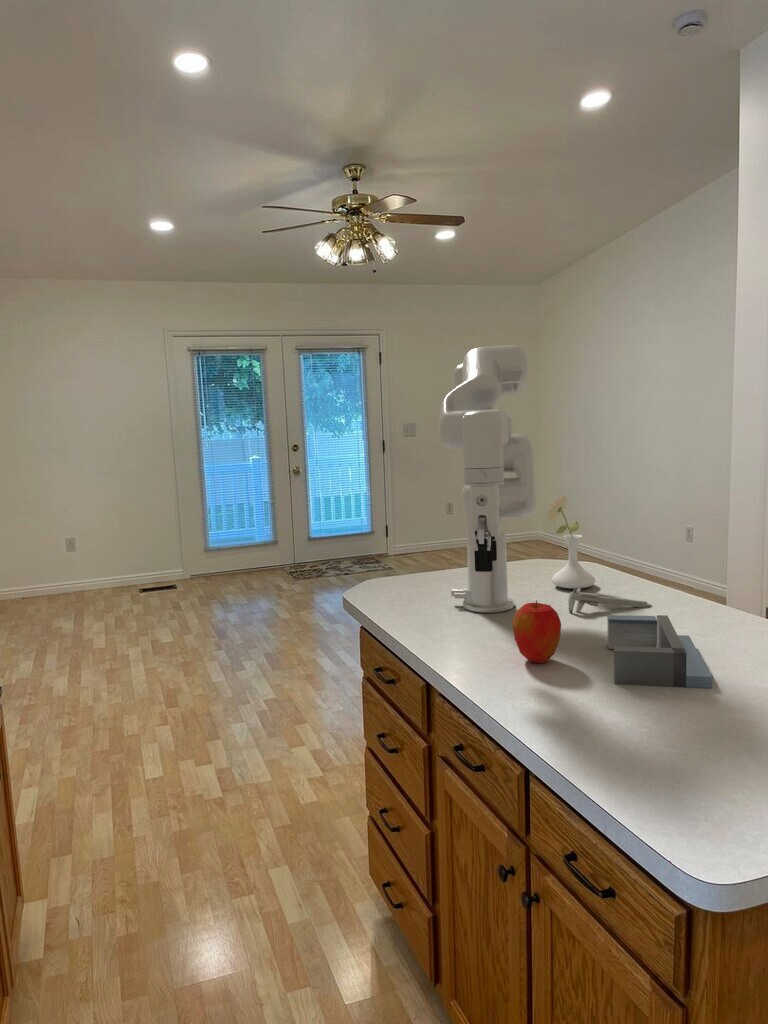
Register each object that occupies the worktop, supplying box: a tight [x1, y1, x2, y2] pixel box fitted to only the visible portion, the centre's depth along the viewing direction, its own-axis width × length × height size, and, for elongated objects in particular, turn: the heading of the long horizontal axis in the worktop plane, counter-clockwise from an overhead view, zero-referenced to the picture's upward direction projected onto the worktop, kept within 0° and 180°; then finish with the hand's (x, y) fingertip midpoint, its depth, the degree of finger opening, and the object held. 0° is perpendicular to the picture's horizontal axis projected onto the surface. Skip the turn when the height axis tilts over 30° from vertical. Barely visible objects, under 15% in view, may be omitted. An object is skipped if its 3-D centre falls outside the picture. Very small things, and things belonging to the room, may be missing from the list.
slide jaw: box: [606, 614, 657, 650], centre depth 139 cm, size 9×3×6 cm, turn 76°
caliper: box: [568, 588, 653, 614], centre depth 166 cm, size 20×1×6 cm, turn 98°
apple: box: [512, 600, 562, 664], centre depth 134 cm, size 9×9×12 cm
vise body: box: [613, 614, 713, 689], centre depth 130 cm, size 16×22×6 cm
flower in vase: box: [546, 494, 596, 590], centre depth 186 cm, size 13×11×25 cm
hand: (486, 565), depth 135 cm, fingers open, 9 cm apart
